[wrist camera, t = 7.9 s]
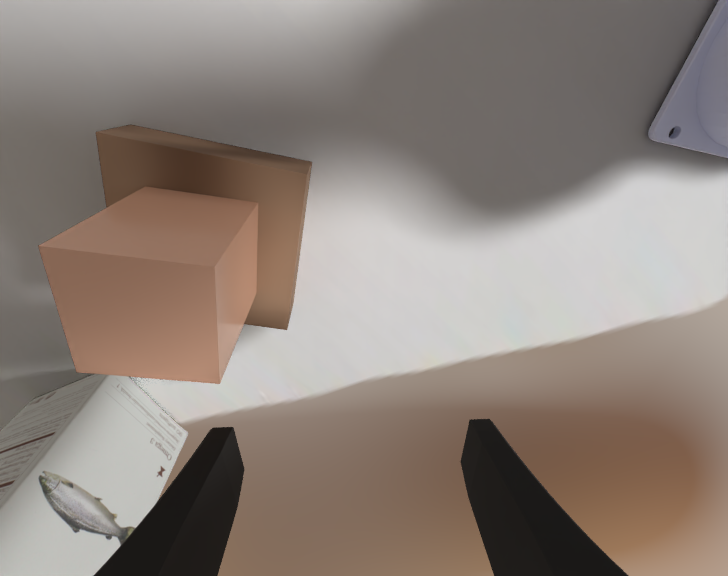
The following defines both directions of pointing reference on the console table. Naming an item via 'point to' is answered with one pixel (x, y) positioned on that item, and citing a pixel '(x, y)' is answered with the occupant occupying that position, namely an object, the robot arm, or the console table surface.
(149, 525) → the robot arm
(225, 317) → the cube
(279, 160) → the walnut block
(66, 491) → the supplement box
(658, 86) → the console table surface
